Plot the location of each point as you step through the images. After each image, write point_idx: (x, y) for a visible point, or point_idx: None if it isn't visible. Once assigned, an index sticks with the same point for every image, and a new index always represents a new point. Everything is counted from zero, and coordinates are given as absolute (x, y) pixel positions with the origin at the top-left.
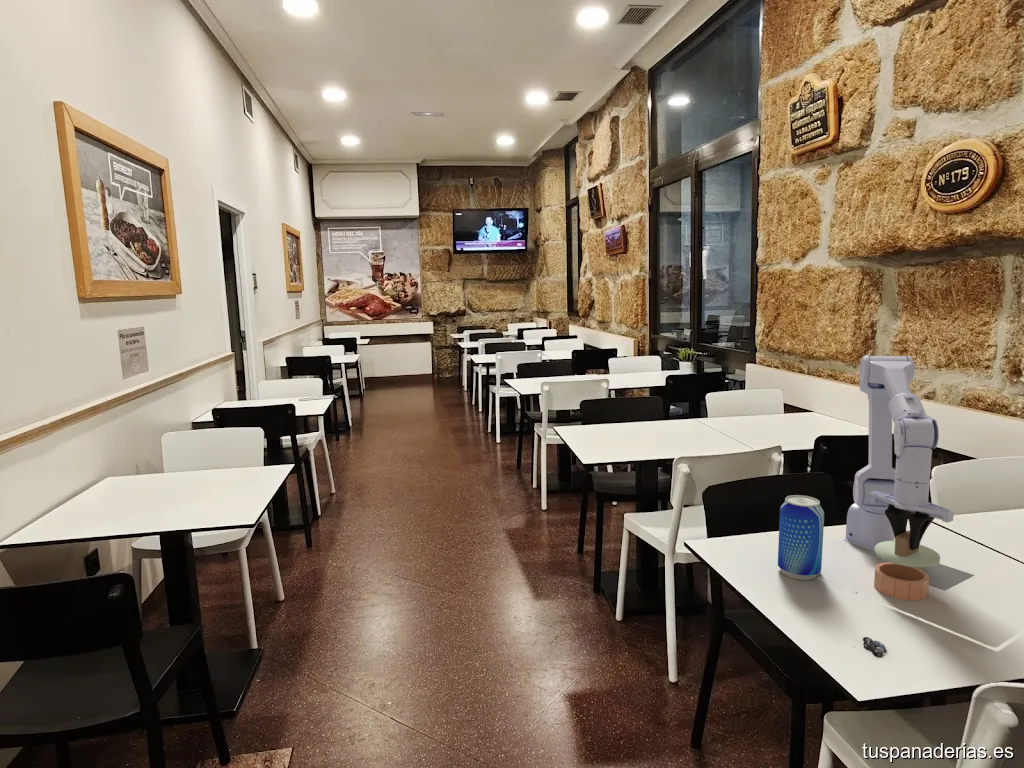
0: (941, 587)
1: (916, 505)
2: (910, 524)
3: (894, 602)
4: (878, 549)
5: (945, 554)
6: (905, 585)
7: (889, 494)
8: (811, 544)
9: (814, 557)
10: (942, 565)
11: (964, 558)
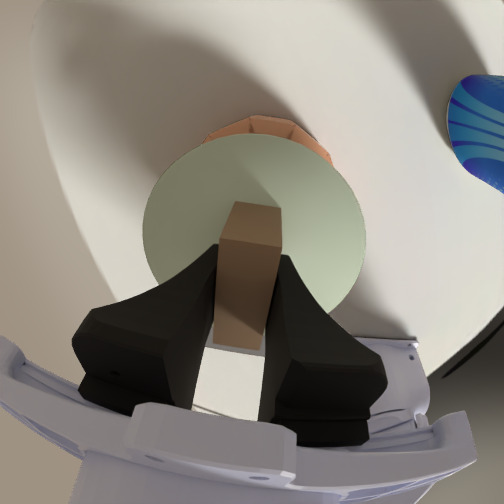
0: None
1: (92, 458)
2: (178, 312)
3: (248, 101)
4: (347, 211)
5: (261, 386)
6: (222, 128)
7: (370, 498)
8: None
9: (484, 96)
10: (244, 351)
11: (235, 386)
